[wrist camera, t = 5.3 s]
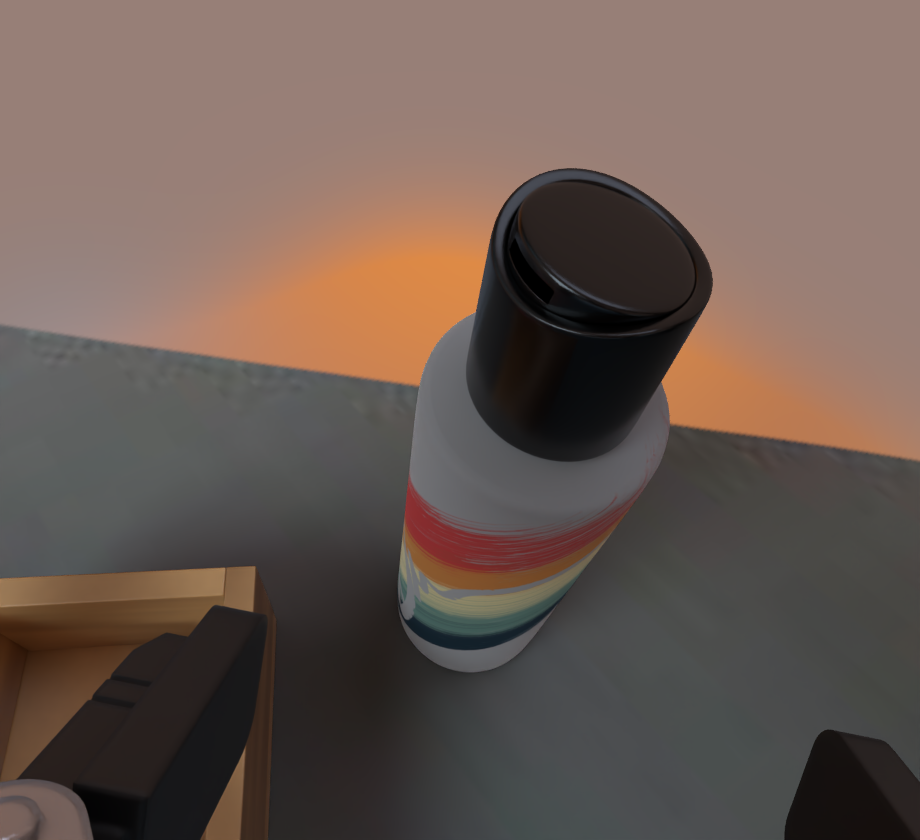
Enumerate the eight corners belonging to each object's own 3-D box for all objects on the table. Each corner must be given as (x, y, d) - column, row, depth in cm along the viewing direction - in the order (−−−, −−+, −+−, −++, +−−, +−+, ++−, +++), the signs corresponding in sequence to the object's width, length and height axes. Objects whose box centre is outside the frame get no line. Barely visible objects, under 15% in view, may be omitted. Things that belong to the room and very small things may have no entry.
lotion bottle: (373, 568, 29) (378, 157, 12) (496, 514, 31) (653, 91, 14) (434, 702, 26) (552, 429, 9) (564, 635, 28) (857, 305, 11)
